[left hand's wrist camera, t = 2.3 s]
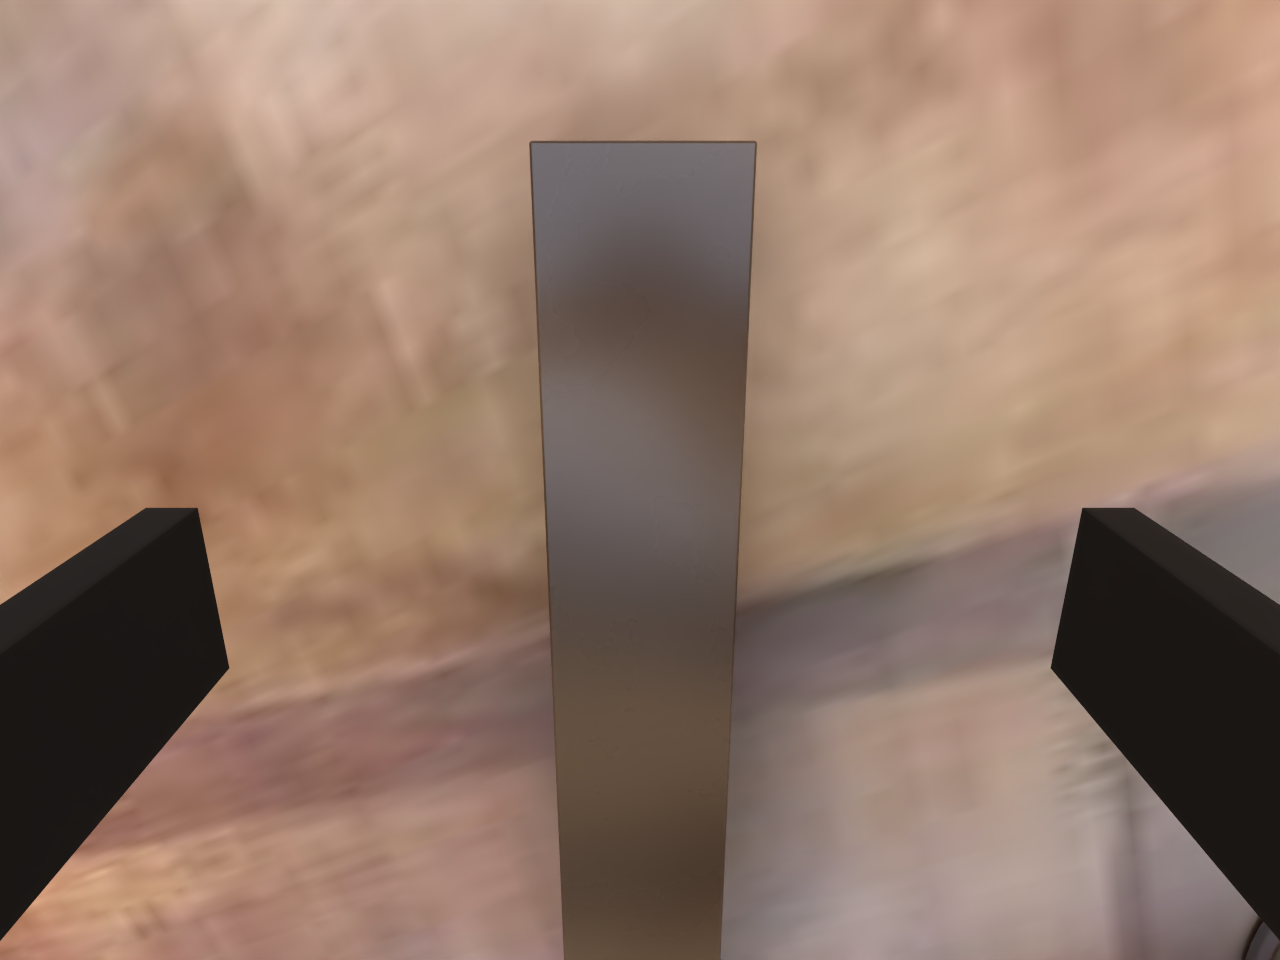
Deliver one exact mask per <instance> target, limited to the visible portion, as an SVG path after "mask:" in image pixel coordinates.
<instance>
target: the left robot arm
mask: <svg viewBox="0 0 1280 960" xmlns="http://www.w3.org/2000/svg"><path fill="white" fill-rule="evenodd" d="M228 669H229V664H228V659H227V654H226V649H225V644H224V639H223V634H222V629H221V624H220V619H219V614H218V609H217V604H216V599H215V594H214V589H213V583H212V578H211V573H210V568H209V563H208V558H207V553H206V548H205V543H204V538H203V533H202V528H201V523H200V518H199V513H198V508H145V509H144V510H142V511H141V512H139V513H138V514H136V515H135V516H133V517H132V518H130V519H129V520H127V521H126V522H124V523H123V524H121V525H120V526H118V527H117V528H115V529H114V530H112V531H111V532H109V533H108V534H106V535H105V536H103V537H102V538H100V539H99V540H97V541H96V542H94V543H93V544H91V545H90V546H88V547H87V548H85V549H84V550H82V551H81V552H79V553H78V554H76V555H75V556H73V557H72V558H70V559H69V560H67V561H66V562H64V563H63V564H61V565H60V566H58V567H57V568H55V569H54V570H52V571H51V572H49V573H48V574H46V575H45V576H43V577H42V578H40V579H39V580H37V581H35V582H34V583H32V584H31V585H29V586H28V587H26V588H25V589H23V590H22V591H20V592H19V593H17V594H16V595H14V596H13V597H11V598H10V599H8V600H7V601H5V602H4V603H2V604H1V605H0V941H1V939H2V938H3V937H4V936H5V935H6V933H7V932H8V931H9V930H10V929H11V927H12V926H13V925H14V924H15V923H16V921H17V920H18V919H19V918H20V917H21V916H22V914H23V913H24V912H25V911H26V910H27V908H28V907H29V906H30V905H31V904H32V902H33V901H34V900H35V899H36V898H37V896H38V895H39V894H40V893H41V892H42V890H43V889H44V888H45V887H46V886H47V885H48V883H49V882H50V881H51V880H52V879H53V877H54V876H55V875H56V874H57V873H58V871H59V870H60V869H61V868H62V867H63V865H64V864H65V863H66V862H67V861H68V860H69V858H70V857H71V856H72V855H73V854H74V852H75V851H76V850H77V849H78V848H79V846H80V845H81V844H82V843H83V842H84V840H85V839H86V838H87V837H88V836H89V835H90V833H91V832H92V831H93V830H94V829H95V827H96V826H97V825H98V824H99V823H100V821H101V820H102V819H103V818H104V817H105V815H106V814H107V813H108V812H109V811H110V810H111V808H112V807H113V806H114V805H115V804H116V802H117V801H118V800H119V799H120V798H121V796H122V795H123V794H124V793H125V792H126V790H127V789H128V788H129V787H130V786H131V785H132V783H133V782H134V781H135V780H136V779H137V777H138V776H139V775H140V774H141V773H142V771H143V770H144V769H145V768H146V767H147V765H148V764H149V763H150V762H151V761H152V759H153V758H154V757H155V756H156V755H157V754H158V752H159V751H160V750H161V749H162V748H163V746H164V745H165V744H166V743H167V742H168V740H169V739H170V738H171V737H172V736H173V734H174V733H175V732H176V731H177V730H178V729H179V727H180V726H181V725H182V724H183V723H184V721H185V720H186V719H187V718H188V717H189V715H190V714H191V713H192V712H193V711H194V709H195V708H196V707H197V706H198V705H199V704H200V702H201V701H202V700H203V699H204V698H205V696H206V695H207V694H208V693H209V692H210V690H211V689H212V688H213V687H214V686H215V684H216V683H217V682H218V681H219V680H220V679H221V677H222V676H223V675H224V674H225V673H226V671H227V670H228ZM1051 669H1052V670H1053V671H1054V673H1055V674H1056V675H1057V676H1058V677H1059V679H1060V680H1061V681H1062V682H1063V683H1064V684H1065V686H1066V687H1067V688H1068V689H1069V690H1070V692H1071V693H1072V694H1073V695H1074V696H1075V698H1076V699H1077V700H1078V701H1079V702H1080V704H1081V705H1082V706H1083V707H1084V708H1085V709H1086V711H1087V712H1088V713H1089V714H1090V715H1091V717H1092V718H1093V719H1094V720H1095V721H1096V723H1097V724H1098V725H1099V726H1100V727H1101V729H1102V730H1103V731H1104V732H1105V733H1106V734H1107V736H1108V737H1109V738H1110V739H1111V740H1112V742H1113V743H1114V744H1115V745H1116V746H1117V748H1118V749H1119V750H1120V751H1121V752H1122V754H1123V755H1124V756H1125V757H1126V758H1127V759H1128V761H1129V762H1130V763H1131V764H1132V765H1133V767H1134V768H1135V769H1136V770H1137V771H1138V773H1139V774H1140V775H1141V776H1142V777H1143V779H1144V780H1145V781H1146V782H1147V783H1148V785H1149V786H1150V787H1151V788H1152V789H1153V790H1154V792H1155V793H1156V794H1157V795H1158V796H1159V798H1160V799H1161V800H1162V801H1163V802H1164V804H1165V805H1166V806H1167V807H1168V808H1169V810H1170V811H1171V812H1172V813H1173V814H1174V815H1175V817H1176V818H1177V819H1178V820H1179V821H1180V823H1181V824H1182V825H1183V826H1184V827H1185V829H1186V830H1187V831H1188V832H1189V833H1190V835H1191V836H1192V837H1193V838H1194V839H1195V840H1196V842H1197V843H1198V844H1199V845H1200V846H1201V848H1202V849H1203V850H1204V851H1205V852H1206V854H1207V855H1208V856H1209V857H1210V858H1211V860H1212V861H1213V862H1214V863H1215V864H1216V865H1217V867H1218V868H1219V869H1220V870H1221V871H1222V873H1223V874H1224V875H1225V876H1226V877H1227V879H1228V880H1229V881H1230V882H1231V883H1232V885H1233V886H1234V887H1235V888H1236V889H1237V890H1238V892H1239V893H1240V894H1241V895H1242V896H1243V898H1244V899H1245V900H1246V901H1247V902H1248V904H1249V905H1250V906H1251V907H1252V908H1253V910H1254V911H1255V912H1256V913H1257V914H1258V916H1259V917H1260V918H1261V919H1262V920H1263V922H1262V924H1261V926H1260V927H1259V929H1258V930H1257V932H1256V934H1255V936H1254V938H1253V940H1252V942H1251V945H1250V947H1249V950H1248V953H1247V955H1246V959H1245V960H1280V605H1279V604H1278V603H1276V602H1275V601H1273V600H1272V599H1270V598H1269V597H1267V596H1266V595H1264V594H1263V593H1261V592H1260V591H1258V590H1257V589H1255V588H1254V587H1252V586H1251V585H1249V584H1248V583H1246V582H1244V581H1243V580H1241V579H1240V578H1238V577H1237V576H1235V575H1234V574H1232V573H1231V572H1229V571H1228V570H1226V569H1225V568H1223V567H1222V566H1220V565H1219V564H1217V563H1216V562H1214V561H1213V560H1211V559H1210V558H1208V557H1207V556H1205V555H1204V554H1202V553H1201V552H1199V551H1198V550H1196V549H1195V548H1193V547H1192V546H1190V545H1189V544H1187V543H1186V542H1184V541H1183V540H1181V539H1180V538H1178V537H1177V536H1175V535H1174V534H1172V533H1171V532H1169V531H1168V530H1166V529H1165V528H1163V527H1162V526H1160V525H1159V524H1157V523H1156V522H1154V521H1153V520H1151V519H1150V518H1148V517H1147V516H1145V515H1144V514H1142V513H1141V512H1139V511H1138V510H1136V509H1135V508H1082V513H1081V518H1080V523H1079V528H1078V533H1077V538H1076V543H1075V548H1074V553H1073V558H1072V563H1071V568H1070V573H1069V578H1068V583H1067V589H1066V594H1065V599H1064V604H1063V609H1062V614H1061V619H1060V624H1059V629H1058V634H1057V639H1056V644H1055V649H1054V654H1053V659H1052V664H1051Z"/></svg>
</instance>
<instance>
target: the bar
mask: <svg viewBox="0 0 1280 960" xmlns="http://www.w3.org/2000/svg"><path fill="white" fill-rule="evenodd" d="M529 147H530V170H531V194H532V217H533V241H534V264H535V288H536V311H537V335H538V358H539V382H540V405H541V429H542V452H543V476H544V499H545V522H546V546H547V569H548V593H549V616H550V640H551V663H552V687H553V710H554V734H555V757H556V781H557V804H558V827H559V851H560V874H561V898H562V921H563V945H564V960H720V952H721V930H722V908H723V886H724V863H725V841H726V819H727V797H728V774H729V752H730V730H731V708H732V686H733V663H734V641H735V619H736V597H737V575H738V552H739V530H740V508H741V486H742V464H743V441H744V419H745V397H746V375H747V352H748V330H749V308H750V286H751V264H752V241H753V219H754V197H755V175H756V153H757V143H756V141H531V142H530V143H529Z"/></svg>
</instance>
